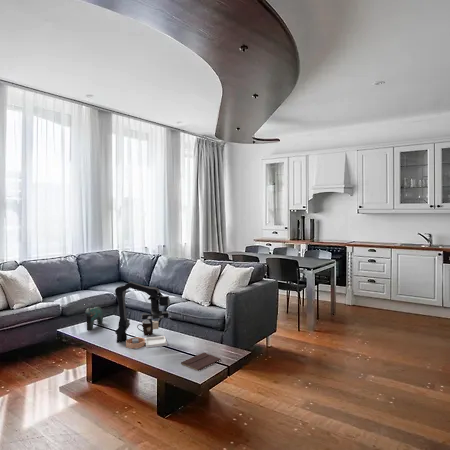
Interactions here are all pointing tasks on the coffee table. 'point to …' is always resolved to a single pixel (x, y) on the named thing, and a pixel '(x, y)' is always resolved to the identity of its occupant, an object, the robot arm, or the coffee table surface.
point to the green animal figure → (94, 316)
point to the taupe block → (155, 324)
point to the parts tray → (155, 341)
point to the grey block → (135, 341)
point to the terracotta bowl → (135, 345)
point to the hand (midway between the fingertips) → (155, 327)
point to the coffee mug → (146, 327)
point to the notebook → (200, 361)
